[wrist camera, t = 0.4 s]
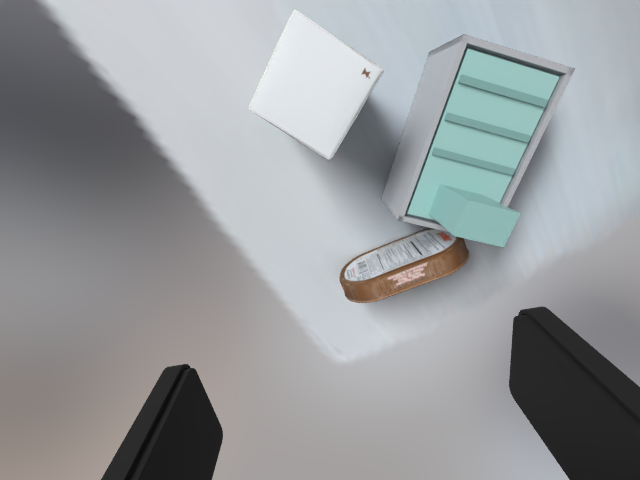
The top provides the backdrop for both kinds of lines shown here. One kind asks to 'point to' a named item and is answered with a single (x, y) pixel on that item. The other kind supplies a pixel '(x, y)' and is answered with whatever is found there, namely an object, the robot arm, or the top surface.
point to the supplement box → (314, 86)
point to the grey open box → (430, 108)
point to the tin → (403, 265)
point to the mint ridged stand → (480, 147)
